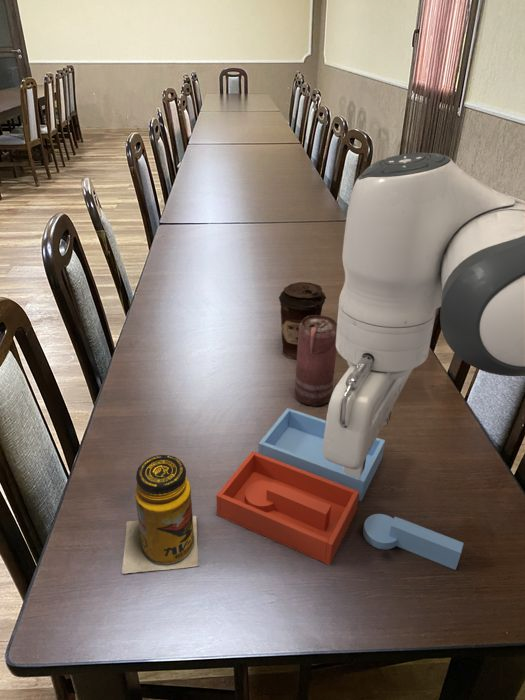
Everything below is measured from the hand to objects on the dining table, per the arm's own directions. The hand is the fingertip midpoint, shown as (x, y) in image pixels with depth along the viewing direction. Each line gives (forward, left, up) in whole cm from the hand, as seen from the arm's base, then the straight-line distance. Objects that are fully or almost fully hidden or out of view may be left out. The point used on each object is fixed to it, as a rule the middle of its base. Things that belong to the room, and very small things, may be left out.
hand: (368, 444), depth 58 cm
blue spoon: (-6, -1, -14) cm, 16 cm away
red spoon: (+9, +1, -14) cm, 16 cm away
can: (+16, -23, -14) cm, 31 cm away
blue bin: (+9, -10, -14) cm, 19 cm away
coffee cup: (+24, -35, -14) cm, 45 cm away
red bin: (+9, +1, -14) cm, 17 cm away
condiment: (+20, +13, -14) cm, 27 cm away
